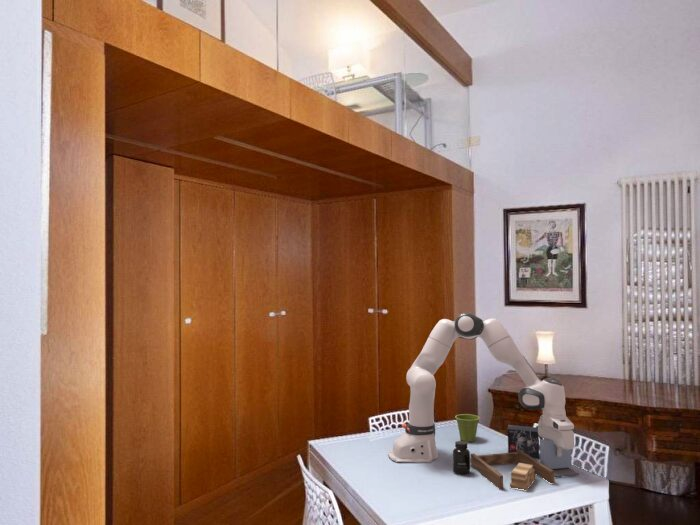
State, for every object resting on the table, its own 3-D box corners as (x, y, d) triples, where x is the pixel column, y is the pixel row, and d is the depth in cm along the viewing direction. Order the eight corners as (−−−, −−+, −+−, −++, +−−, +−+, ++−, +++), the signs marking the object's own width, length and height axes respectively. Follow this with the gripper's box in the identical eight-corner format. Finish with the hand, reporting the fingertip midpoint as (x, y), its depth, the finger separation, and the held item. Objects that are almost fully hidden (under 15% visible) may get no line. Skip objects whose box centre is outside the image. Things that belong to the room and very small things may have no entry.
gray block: (544, 469, 200) (543, 441, 201) (540, 466, 203) (539, 439, 204) (571, 467, 203) (570, 439, 203) (567, 464, 206) (566, 437, 206)
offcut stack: (526, 492, 184) (526, 475, 184) (510, 489, 187) (509, 472, 187) (535, 479, 195) (535, 464, 196) (520, 476, 199) (519, 461, 199)
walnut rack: (499, 489, 186) (499, 476, 186) (471, 465, 211) (470, 453, 211) (554, 484, 190) (554, 470, 190) (519, 461, 215) (519, 449, 215)
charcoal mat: (551, 478, 196) (551, 476, 196) (534, 467, 208) (534, 465, 208) (579, 475, 198) (578, 473, 198) (560, 464, 210) (560, 463, 210)
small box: (507, 456, 222) (507, 428, 223) (508, 451, 228) (507, 424, 229) (539, 459, 218) (538, 431, 218) (539, 454, 224) (538, 427, 225)
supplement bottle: (460, 476, 199) (459, 446, 200) (449, 471, 205) (448, 441, 206) (473, 473, 202) (473, 443, 203) (462, 468, 208) (461, 439, 209)
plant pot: (483, 443, 240) (482, 419, 240) (458, 444, 240) (457, 420, 240) (477, 436, 252) (476, 413, 252) (453, 436, 252) (453, 414, 252)
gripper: (533, 414, 213) (534, 446, 213) (562, 427, 193) (563, 463, 193) (546, 413, 215) (547, 445, 214) (576, 426, 195) (578, 462, 194)
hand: (555, 454), depth 203 cm, fingers closed on gray block, 3 cm apart
